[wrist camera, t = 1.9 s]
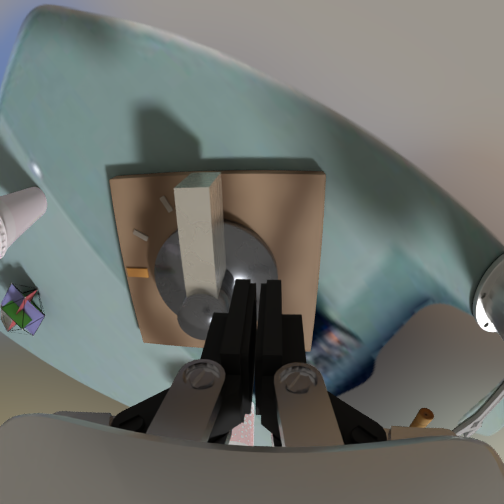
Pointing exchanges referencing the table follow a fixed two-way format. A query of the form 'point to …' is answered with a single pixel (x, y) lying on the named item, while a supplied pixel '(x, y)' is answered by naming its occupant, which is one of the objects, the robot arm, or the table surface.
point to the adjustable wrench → (479, 415)
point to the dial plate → (234, 208)
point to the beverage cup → (244, 431)
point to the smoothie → (19, 214)
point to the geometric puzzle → (20, 310)
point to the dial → (207, 256)
